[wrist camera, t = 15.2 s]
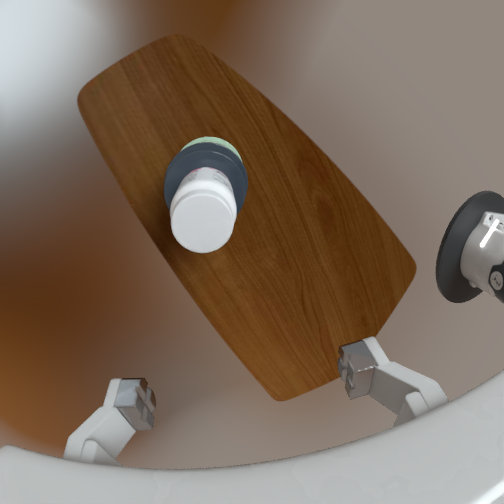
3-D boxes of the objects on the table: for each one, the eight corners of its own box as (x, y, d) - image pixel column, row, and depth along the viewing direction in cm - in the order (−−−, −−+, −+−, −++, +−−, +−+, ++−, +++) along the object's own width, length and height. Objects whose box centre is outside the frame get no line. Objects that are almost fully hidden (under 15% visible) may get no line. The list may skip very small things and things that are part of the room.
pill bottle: (181, 219, 27) (168, 260, 19) (177, 168, 25) (160, 189, 17) (233, 216, 27) (240, 256, 19) (232, 165, 25) (238, 185, 17)
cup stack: (236, 130, 35) (245, 134, 24) (247, 196, 39) (260, 227, 28) (167, 145, 35) (146, 155, 24) (182, 209, 38) (169, 245, 28)
